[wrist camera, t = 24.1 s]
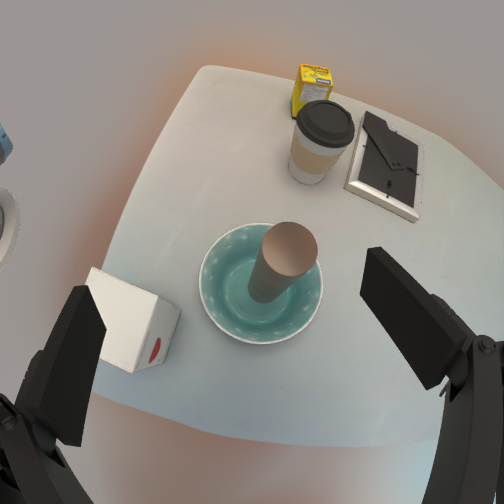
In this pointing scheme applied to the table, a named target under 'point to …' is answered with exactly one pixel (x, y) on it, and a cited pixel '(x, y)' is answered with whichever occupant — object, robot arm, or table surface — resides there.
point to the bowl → (237, 296)
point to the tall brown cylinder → (281, 260)
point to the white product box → (132, 322)
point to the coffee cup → (319, 140)
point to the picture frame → (387, 168)
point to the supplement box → (310, 86)
